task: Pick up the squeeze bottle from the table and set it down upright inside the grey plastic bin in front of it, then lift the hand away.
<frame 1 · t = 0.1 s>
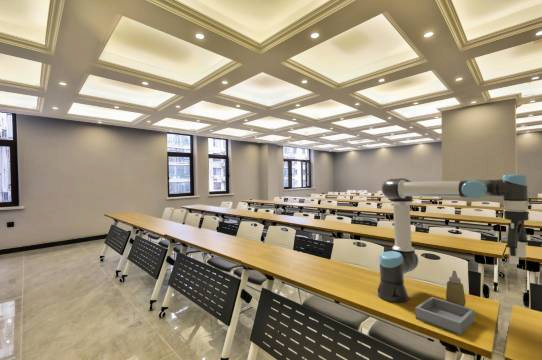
hand: (518, 260, 109), 28 cm above the table, tool pointing down, fingers open, 13 cm apart
squeeze bottle: (456, 307, 126), on the table
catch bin: (444, 319, 116), on the table
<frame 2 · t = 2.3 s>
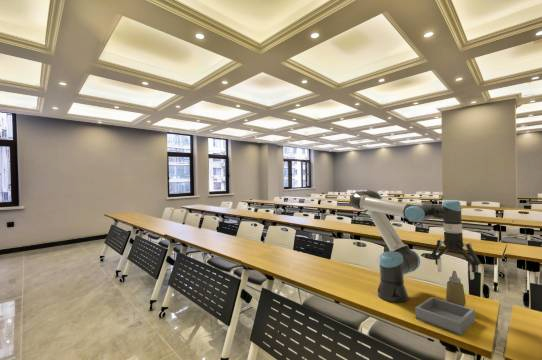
hand: (455, 275, 126), 16 cm above the table, tool pointing down, fingers open, 13 cm apart
nothing on the table moved.
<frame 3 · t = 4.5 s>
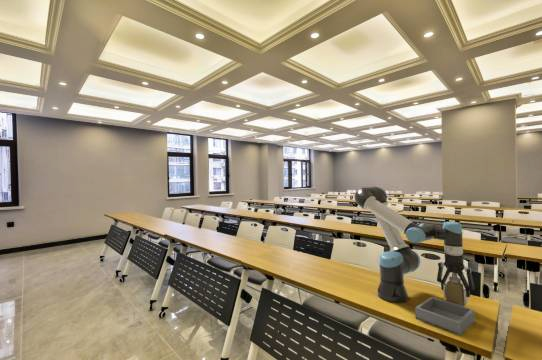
hand: (455, 299, 126), 4 cm above the table, tool pointing down, fingers closed on squeeze bottle, 8 cm apart
squeeze bottle: (456, 307, 126), on the table, touching gripper
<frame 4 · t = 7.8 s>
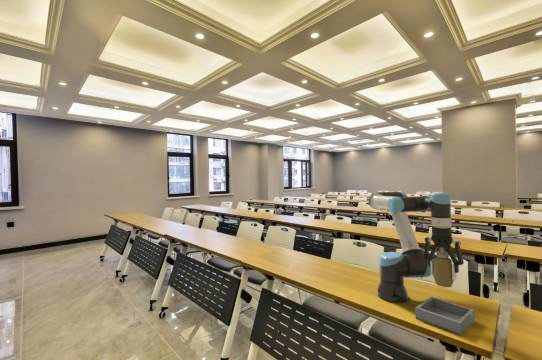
hand: (443, 276, 116), 19 cm above the table, tool pointing down, fingers closed on squeeze bottle, 8 cm apart
squeeze bottle: (443, 285, 116), point 15 cm above the table, touching gripper
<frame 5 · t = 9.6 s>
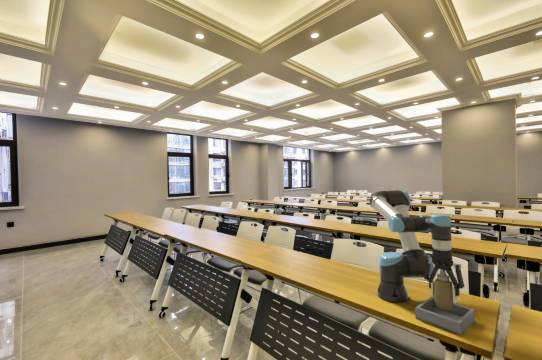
hand: (444, 299, 116), 9 cm above the table, tool pointing down, fingers closed on squeeze bottle, 8 cm apart
squeeze bottle: (444, 308, 115), point 5 cm above the table, touching gripper
when the fingers open (6 cm above the table, at t = 11.1 s): squeeze bottle drops 1 cm, resting on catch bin.
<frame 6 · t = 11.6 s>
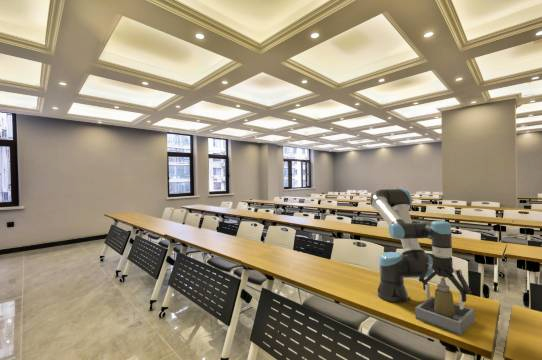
hand: (444, 303, 116), 7 cm above the table, tool pointing down, fingers open, 13 cm apart
squeeze bottle: (444, 318, 116), point 1 cm above the table, touching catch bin
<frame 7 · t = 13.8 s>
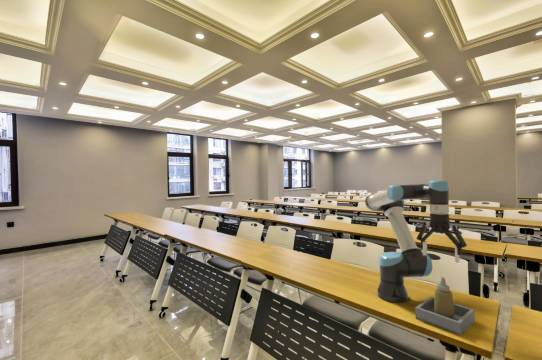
hand: (440, 258, 120), 26 cm above the table, tool pointing down, fingers open, 13 cm apart
nothing on the table moved.
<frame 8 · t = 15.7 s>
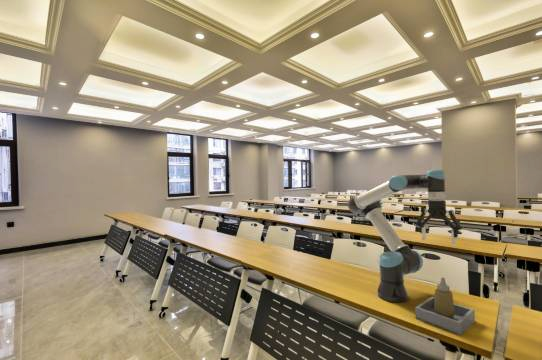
hand: (438, 241, 131), 32 cm above the table, tool pointing down, fingers open, 13 cm apart
nothing on the table moved.
at the end: squeeze bottle inside the target area on the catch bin (0.1 cm from its centre), point 0.6 cm above the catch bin's base; squeeze bottle tilted 0°; the gripper is holding nothing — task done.
